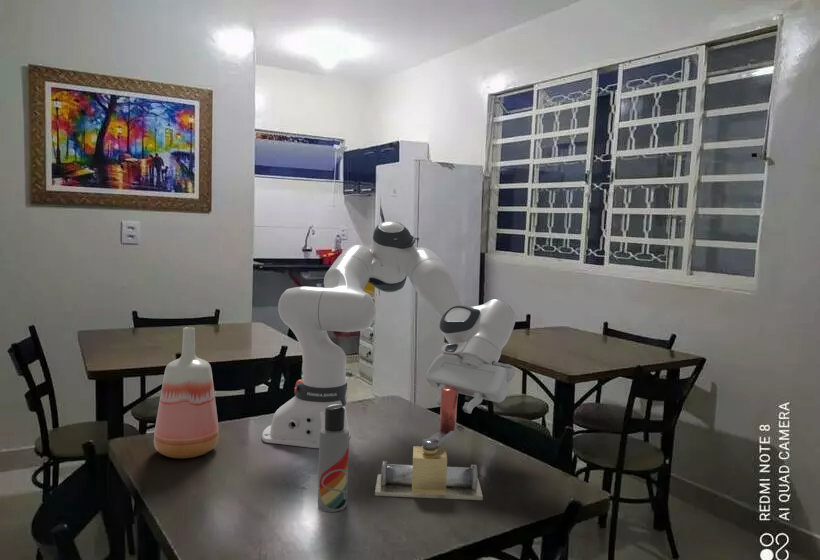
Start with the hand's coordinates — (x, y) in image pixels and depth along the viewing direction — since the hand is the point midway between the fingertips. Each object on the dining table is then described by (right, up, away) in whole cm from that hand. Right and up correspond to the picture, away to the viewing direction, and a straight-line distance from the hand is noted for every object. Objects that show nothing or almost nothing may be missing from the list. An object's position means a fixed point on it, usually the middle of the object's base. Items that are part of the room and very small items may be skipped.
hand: (452, 408), depth 135 cm
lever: (-3, -6, -3) cm, 8 cm away
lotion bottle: (-25, -16, -17) cm, 34 cm away
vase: (-63, -12, +8) cm, 64 cm away
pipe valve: (-6, -16, -7) cm, 18 cm away
